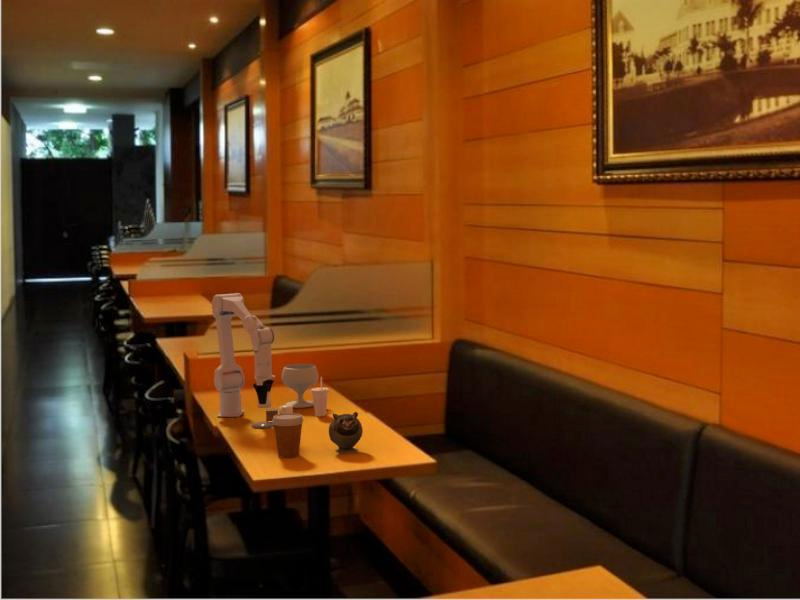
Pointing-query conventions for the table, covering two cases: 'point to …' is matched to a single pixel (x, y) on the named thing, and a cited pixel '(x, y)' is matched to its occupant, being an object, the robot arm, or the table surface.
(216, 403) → the table surface
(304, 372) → the chalice
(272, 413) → the walnut block
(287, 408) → the cream small rounded lump
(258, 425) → the slate coaster
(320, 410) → the smoothie
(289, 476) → the table surface
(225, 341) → the robot arm
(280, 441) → the disposable coffee cup
